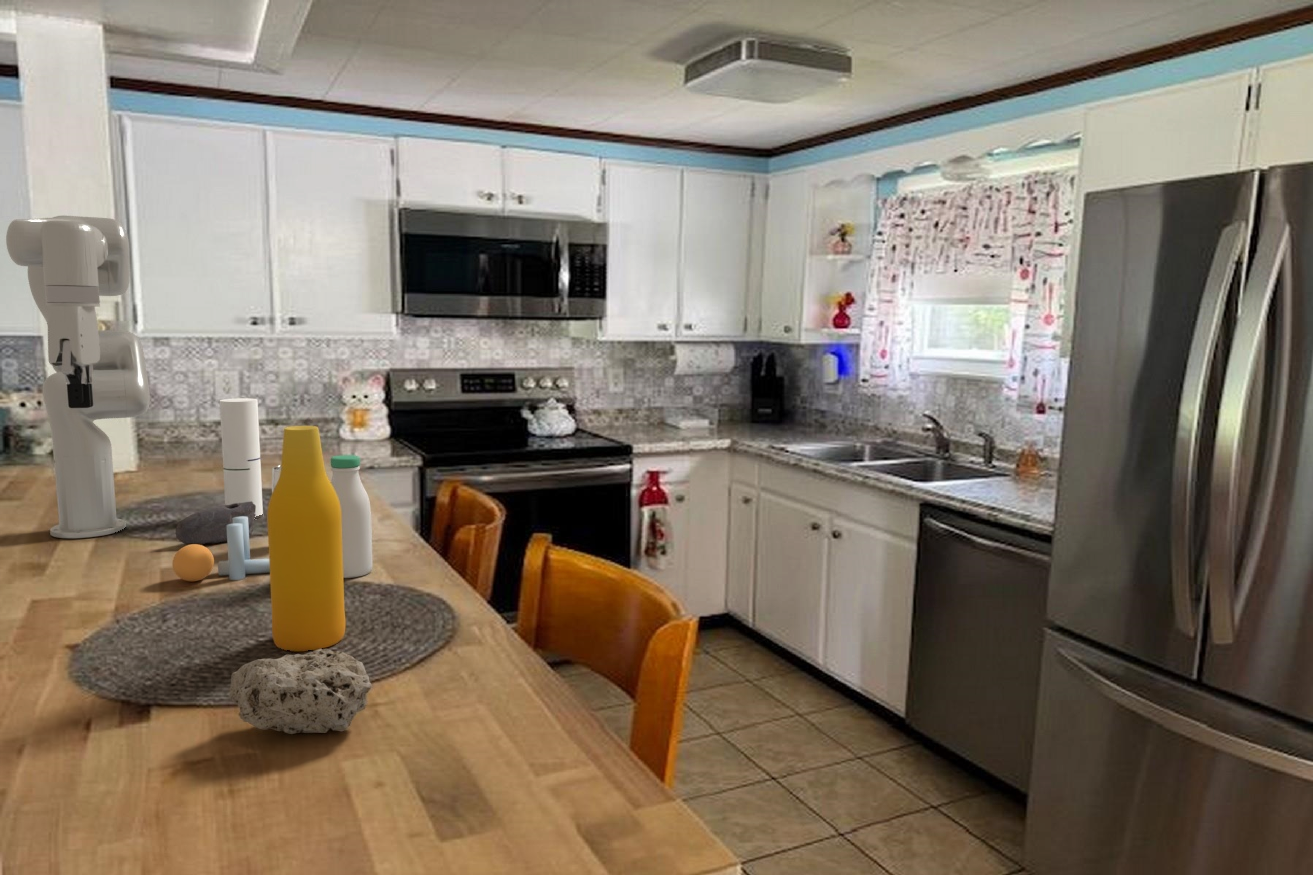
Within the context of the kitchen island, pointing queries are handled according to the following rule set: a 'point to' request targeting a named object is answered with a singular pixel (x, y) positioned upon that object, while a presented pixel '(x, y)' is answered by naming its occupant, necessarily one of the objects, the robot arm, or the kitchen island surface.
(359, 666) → the pumice stone
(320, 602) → the beer bottle
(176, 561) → the ball
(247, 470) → the cylindrical container
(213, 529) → the perforated stone tool
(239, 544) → the pin back left
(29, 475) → the kitchen island surface
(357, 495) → the milk bottle
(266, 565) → the pin front
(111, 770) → the kitchen island surface
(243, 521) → the pin back right
